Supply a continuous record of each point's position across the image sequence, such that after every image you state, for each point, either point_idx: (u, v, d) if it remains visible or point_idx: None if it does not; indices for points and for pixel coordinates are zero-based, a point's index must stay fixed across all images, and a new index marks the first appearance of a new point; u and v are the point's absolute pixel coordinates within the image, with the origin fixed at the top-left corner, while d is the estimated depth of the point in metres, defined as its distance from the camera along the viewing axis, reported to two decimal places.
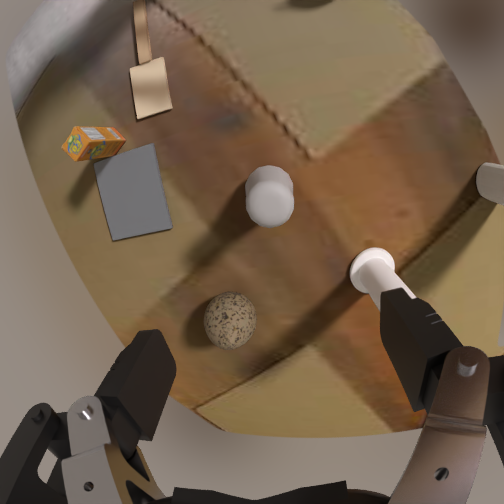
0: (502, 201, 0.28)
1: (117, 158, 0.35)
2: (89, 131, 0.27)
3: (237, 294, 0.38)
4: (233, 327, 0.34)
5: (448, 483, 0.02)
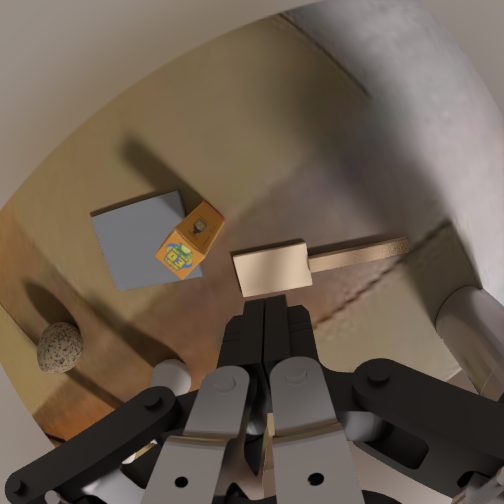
0: None
1: None
2: None
3: (81, 350, 0.35)
4: (57, 370, 0.30)
5: (329, 484, 0.03)
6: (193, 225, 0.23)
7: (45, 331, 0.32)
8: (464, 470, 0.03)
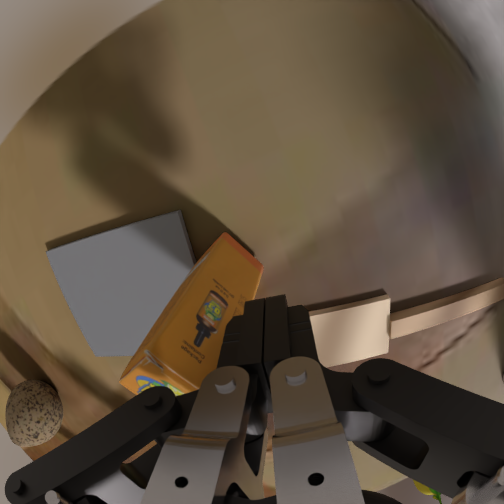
0: None
1: None
2: None
3: (60, 417, 0.23)
4: (32, 444, 0.18)
5: (329, 484, 0.03)
6: (196, 318, 0.10)
7: (12, 394, 0.19)
8: (464, 470, 0.03)
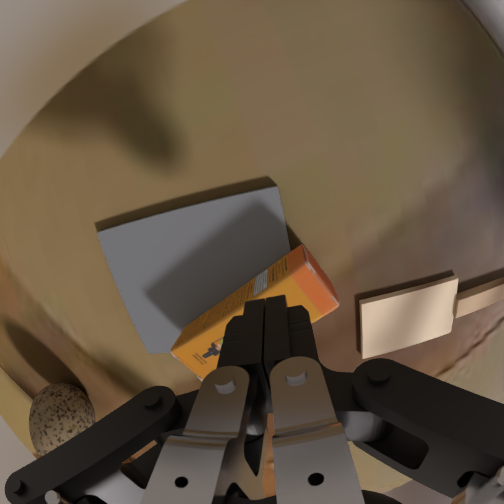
0: None
1: None
2: None
3: None
4: None
5: (329, 484, 0.03)
6: (210, 344, 0.16)
7: (37, 401, 0.18)
8: (464, 470, 0.03)
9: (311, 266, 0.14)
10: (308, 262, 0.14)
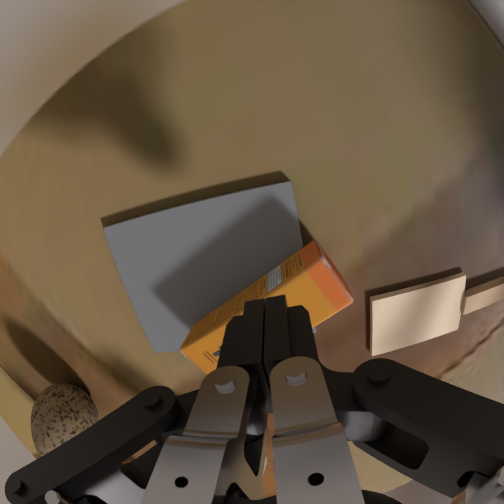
0: None
1: None
2: None
3: None
4: None
5: (329, 484, 0.03)
6: (222, 342, 0.15)
7: (39, 402, 0.18)
8: (464, 470, 0.03)
9: (326, 261, 0.13)
10: (323, 257, 0.13)
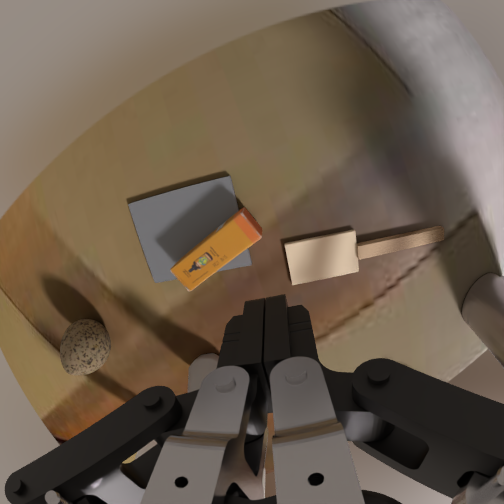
0: None
1: None
2: None
3: (109, 348, 0.35)
4: (84, 371, 0.30)
5: (329, 484, 0.03)
6: (193, 262, 0.29)
7: (69, 329, 0.31)
8: (464, 470, 0.03)
9: (243, 215, 0.27)
10: (242, 213, 0.27)
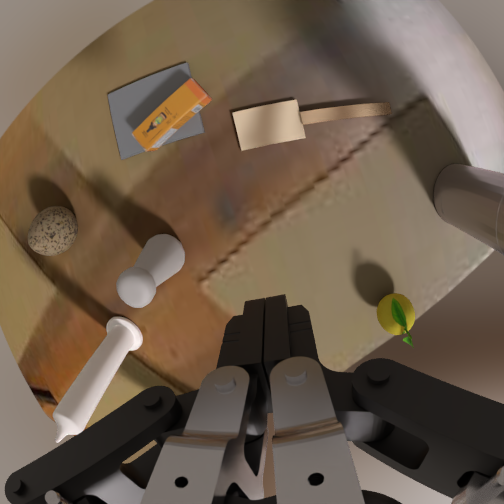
0: None
1: None
2: (161, 140, 0.31)
3: (75, 233, 0.36)
4: (45, 245, 0.31)
5: (329, 483, 0.03)
6: (150, 123, 0.30)
7: None
8: (464, 470, 0.03)
9: (193, 79, 0.28)
10: (192, 78, 0.28)
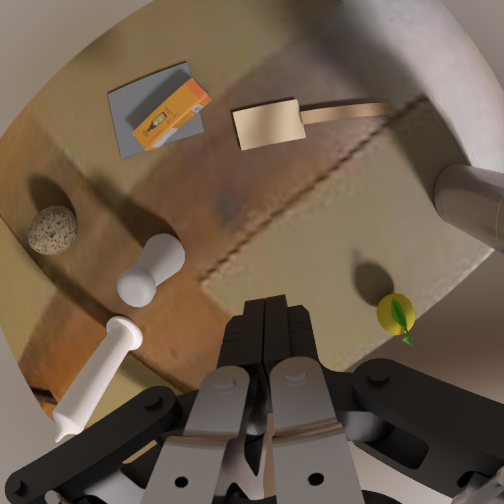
0: None
1: None
2: (161, 140, 0.32)
3: (75, 232, 0.36)
4: (45, 244, 0.31)
5: (329, 483, 0.03)
6: (151, 122, 0.30)
7: (42, 210, 0.32)
8: (464, 470, 0.03)
9: (193, 79, 0.28)
10: (192, 78, 0.28)
